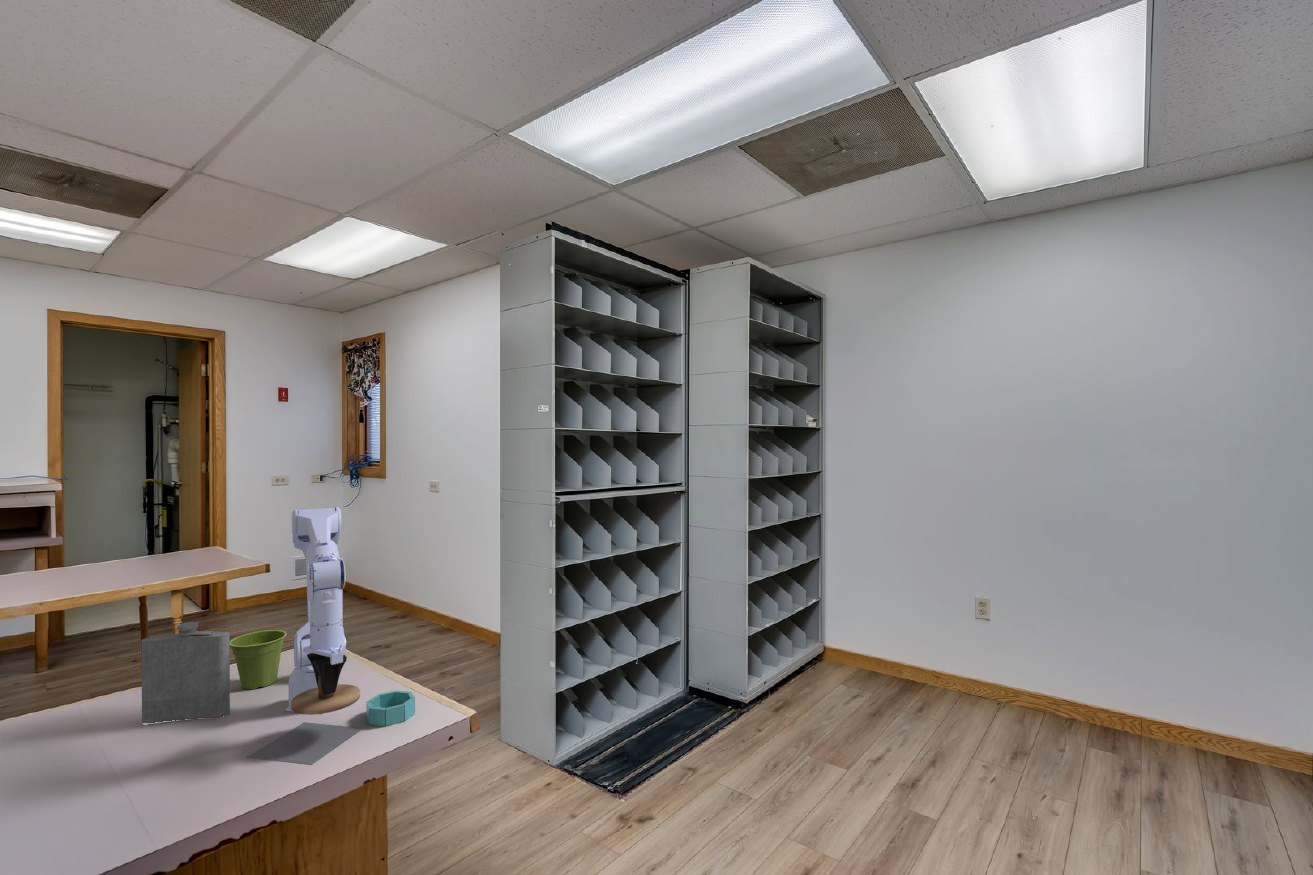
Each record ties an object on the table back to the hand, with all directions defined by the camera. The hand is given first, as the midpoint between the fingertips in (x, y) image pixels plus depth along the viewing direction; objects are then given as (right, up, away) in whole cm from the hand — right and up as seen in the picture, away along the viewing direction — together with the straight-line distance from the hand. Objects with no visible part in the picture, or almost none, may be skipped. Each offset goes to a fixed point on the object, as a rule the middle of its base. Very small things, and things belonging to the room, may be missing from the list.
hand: (326, 690), depth 121 cm
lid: (0, -2, 0) cm, 2 cm away
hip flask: (-35, -10, +9) cm, 37 cm away
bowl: (+9, -10, +8) cm, 16 cm away
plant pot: (-31, -10, +27) cm, 42 cm away
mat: (-2, -9, -2) cm, 10 cm away
